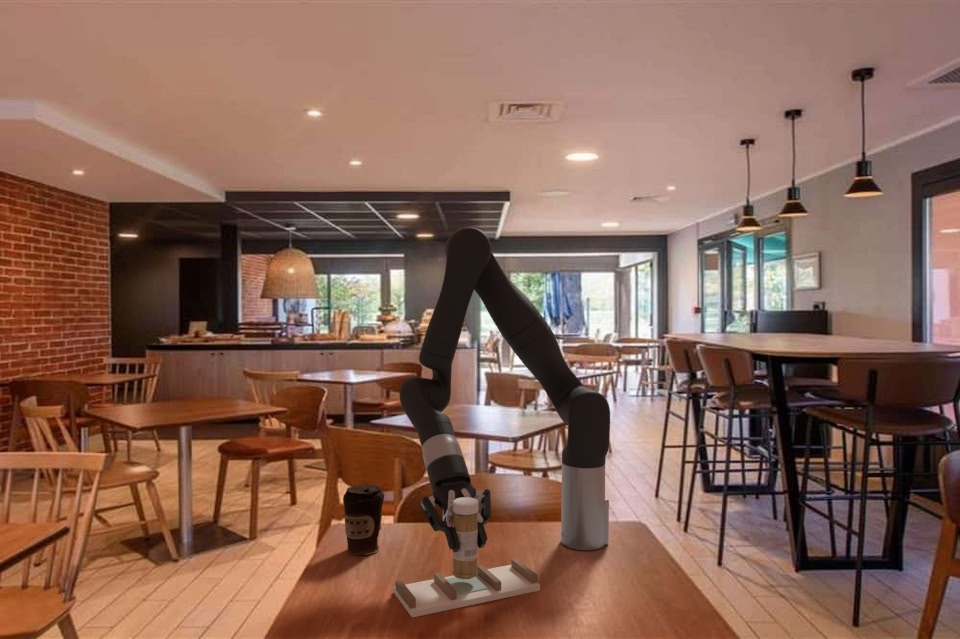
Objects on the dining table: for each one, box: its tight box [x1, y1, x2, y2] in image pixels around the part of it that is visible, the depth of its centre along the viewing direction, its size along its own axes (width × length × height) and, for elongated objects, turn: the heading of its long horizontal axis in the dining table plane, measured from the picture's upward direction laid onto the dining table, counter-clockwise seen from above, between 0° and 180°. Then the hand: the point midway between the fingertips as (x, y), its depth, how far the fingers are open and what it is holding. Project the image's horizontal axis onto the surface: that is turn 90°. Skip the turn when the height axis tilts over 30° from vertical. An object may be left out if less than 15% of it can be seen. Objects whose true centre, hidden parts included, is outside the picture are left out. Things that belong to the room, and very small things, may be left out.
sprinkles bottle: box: [452, 497, 479, 579], centre depth 113 cm, size 5×5×14 cm
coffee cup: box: [342, 484, 385, 556], centre depth 131 cm, size 9×8×13 cm
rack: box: [393, 558, 541, 618], centre depth 113 cm, size 24×10×2 cm, turn 115°
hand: (470, 547), depth 111 cm, fingers closed on sprinkles bottle, 4 cm apart
